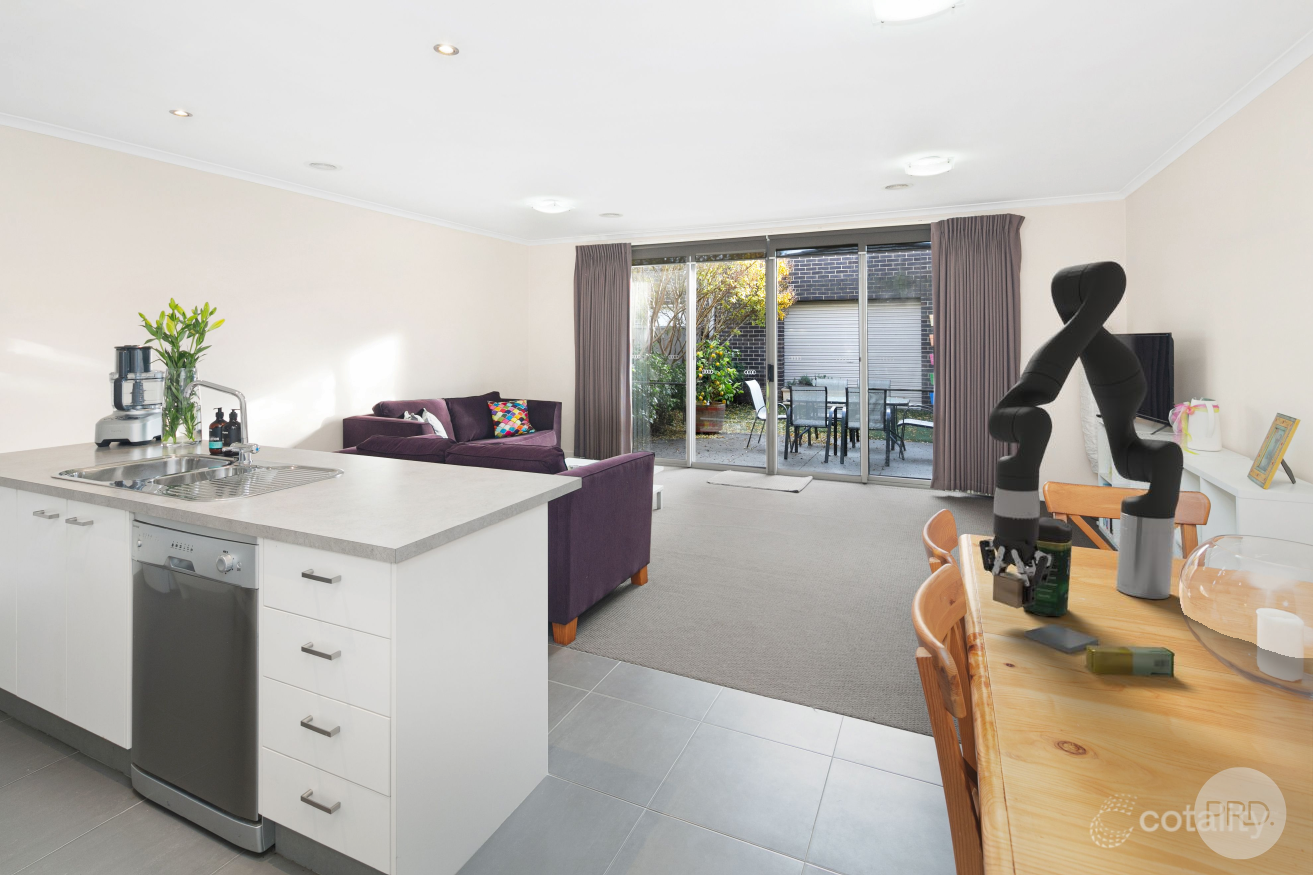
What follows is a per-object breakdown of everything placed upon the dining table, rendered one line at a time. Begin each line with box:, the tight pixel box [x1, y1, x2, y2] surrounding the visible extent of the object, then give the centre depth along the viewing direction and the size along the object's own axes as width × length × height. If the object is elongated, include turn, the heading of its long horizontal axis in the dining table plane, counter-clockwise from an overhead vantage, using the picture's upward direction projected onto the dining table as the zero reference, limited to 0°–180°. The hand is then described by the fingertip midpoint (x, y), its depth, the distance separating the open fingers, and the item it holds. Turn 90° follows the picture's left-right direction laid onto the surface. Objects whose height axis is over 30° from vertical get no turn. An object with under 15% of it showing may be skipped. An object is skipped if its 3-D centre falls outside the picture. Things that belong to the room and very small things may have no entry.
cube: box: [992, 570, 1035, 609], centre depth 122 cm, size 5×5×5 cm
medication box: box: [1084, 645, 1175, 678], centre depth 103 cm, size 12×3×4 cm, turn 83°
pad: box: [1024, 623, 1099, 655], centre depth 115 cm, size 8×8×1 cm
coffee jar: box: [1022, 516, 1073, 617], centre depth 129 cm, size 10×8×19 cm
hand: (1013, 599), depth 122 cm, fingers closed on cube, 5 cm apart
